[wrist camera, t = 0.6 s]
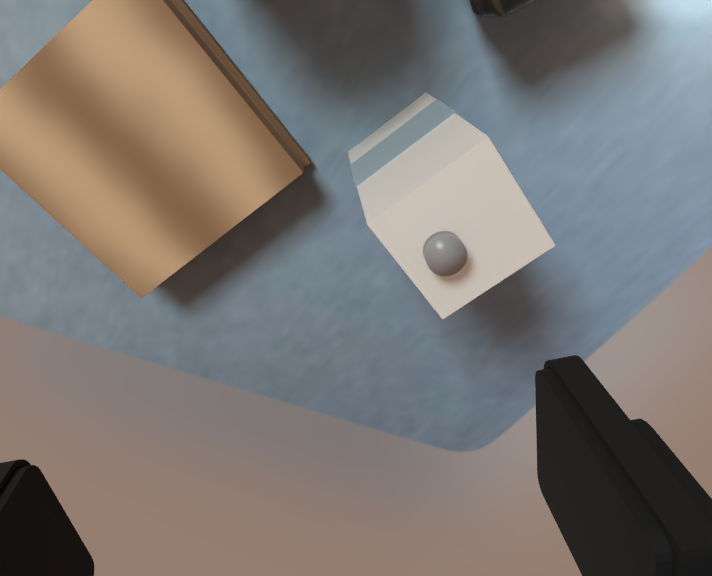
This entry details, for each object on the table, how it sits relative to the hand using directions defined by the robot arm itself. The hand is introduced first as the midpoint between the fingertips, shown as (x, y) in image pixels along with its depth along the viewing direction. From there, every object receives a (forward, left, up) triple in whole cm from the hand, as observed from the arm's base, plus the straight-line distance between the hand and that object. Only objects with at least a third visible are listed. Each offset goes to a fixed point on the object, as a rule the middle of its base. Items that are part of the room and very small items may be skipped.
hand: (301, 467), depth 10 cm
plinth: (+6, -6, -24) cm, 26 cm away
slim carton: (-5, +4, -24) cm, 25 cm away
